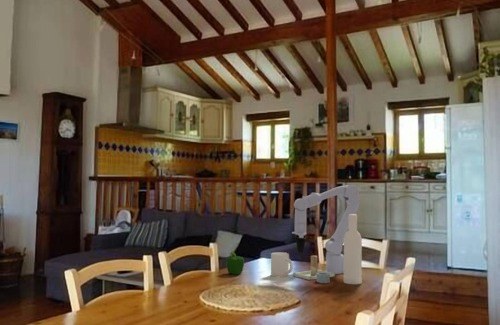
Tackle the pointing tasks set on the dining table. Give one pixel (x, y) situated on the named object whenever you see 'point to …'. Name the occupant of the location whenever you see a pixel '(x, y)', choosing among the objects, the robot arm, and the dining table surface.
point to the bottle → (352, 253)
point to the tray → (308, 274)
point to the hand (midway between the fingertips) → (300, 251)
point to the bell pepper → (235, 264)
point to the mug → (280, 264)
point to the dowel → (313, 265)
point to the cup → (323, 277)
